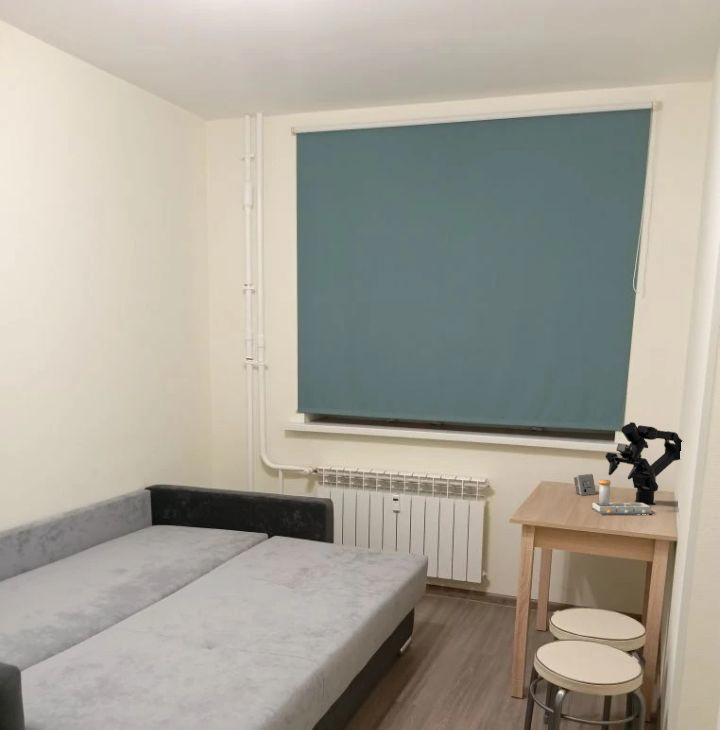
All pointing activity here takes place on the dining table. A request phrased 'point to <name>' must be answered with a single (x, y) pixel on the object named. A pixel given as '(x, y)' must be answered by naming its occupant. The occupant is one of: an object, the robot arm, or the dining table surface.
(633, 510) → the grey compartment tray
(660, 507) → the dining table surface
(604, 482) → the plug
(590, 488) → the electrical switch
